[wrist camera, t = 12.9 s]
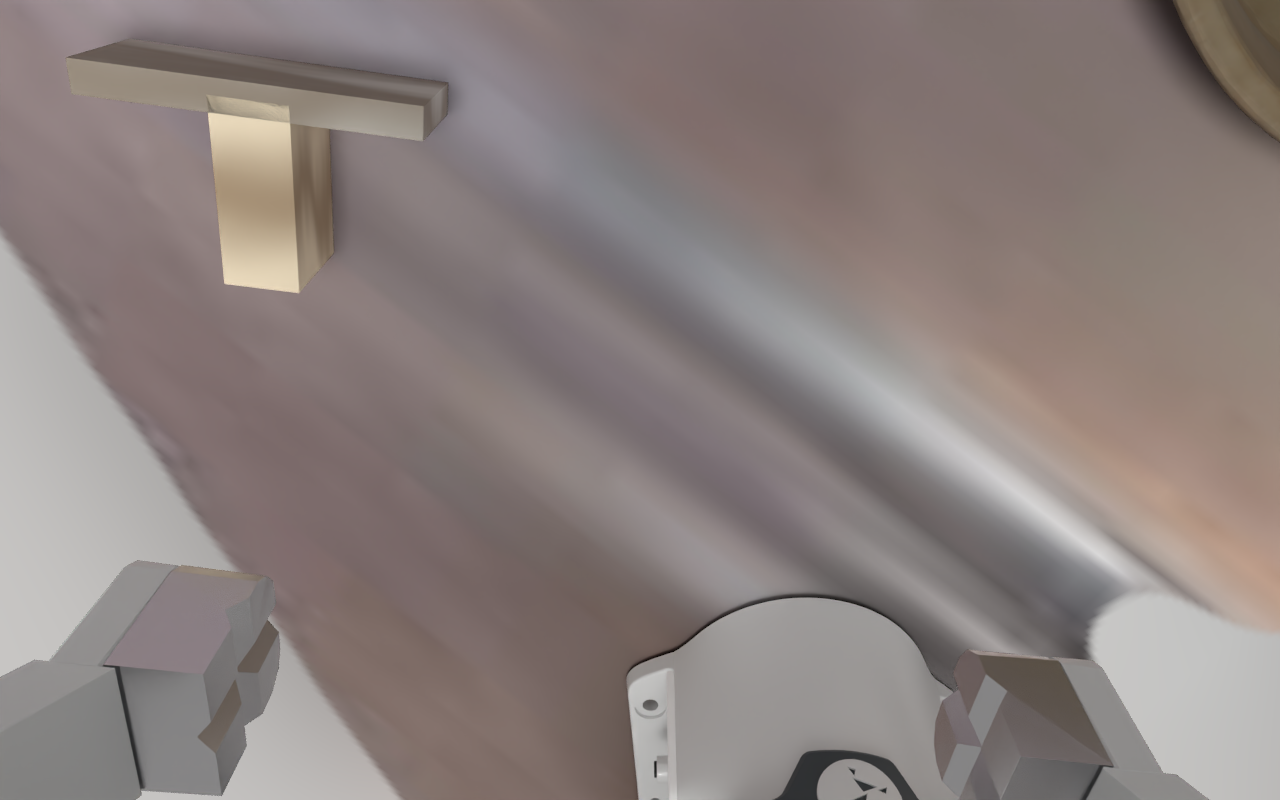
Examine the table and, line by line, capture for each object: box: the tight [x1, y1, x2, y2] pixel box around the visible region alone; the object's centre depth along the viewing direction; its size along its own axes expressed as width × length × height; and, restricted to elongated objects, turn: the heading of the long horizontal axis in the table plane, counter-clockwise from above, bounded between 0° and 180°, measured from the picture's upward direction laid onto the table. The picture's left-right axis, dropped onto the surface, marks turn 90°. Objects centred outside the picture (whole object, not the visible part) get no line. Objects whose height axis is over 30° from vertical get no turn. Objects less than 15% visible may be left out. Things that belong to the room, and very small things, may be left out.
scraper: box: [65, 39, 448, 293], centre depth 35 cm, size 8×12×4 cm, turn 83°
